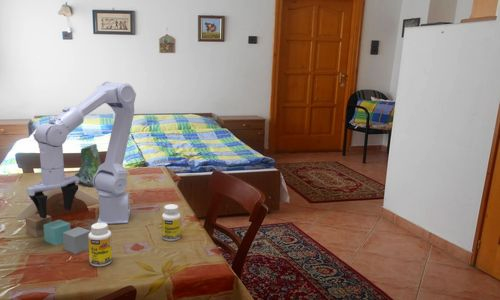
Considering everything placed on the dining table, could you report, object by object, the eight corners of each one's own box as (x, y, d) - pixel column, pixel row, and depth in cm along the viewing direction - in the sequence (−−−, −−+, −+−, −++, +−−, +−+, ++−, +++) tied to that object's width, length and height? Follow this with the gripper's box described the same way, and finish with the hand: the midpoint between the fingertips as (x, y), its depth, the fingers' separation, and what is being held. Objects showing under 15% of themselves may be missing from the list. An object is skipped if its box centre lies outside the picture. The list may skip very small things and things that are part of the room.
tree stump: (118, 190, 168) (105, 147, 163) (71, 199, 169) (56, 157, 165) (132, 174, 186) (120, 135, 181) (89, 183, 187) (76, 145, 182)
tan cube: (42, 228, 129) (41, 212, 128) (52, 232, 127) (51, 216, 126) (26, 233, 125) (25, 217, 124) (36, 238, 123) (35, 221, 121)
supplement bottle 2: (162, 242, 122) (162, 210, 120) (161, 234, 127) (160, 203, 125) (181, 240, 124) (181, 209, 121) (179, 233, 129) (179, 202, 127)
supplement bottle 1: (88, 268, 106) (86, 230, 104) (91, 258, 112) (89, 221, 109) (111, 266, 108) (109, 229, 105) (113, 256, 113) (111, 220, 111)
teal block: (60, 235, 125) (59, 219, 124) (71, 239, 122) (70, 223, 121) (44, 241, 121) (43, 224, 119) (55, 245, 118) (54, 229, 117)
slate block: (79, 243, 120) (78, 226, 119) (91, 247, 118) (90, 231, 117) (64, 249, 116) (62, 232, 115) (75, 254, 114) (74, 237, 112)
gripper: (66, 159, 125) (69, 203, 128) (18, 169, 113) (22, 217, 116) (82, 163, 121) (84, 208, 124) (33, 174, 109) (37, 223, 112)
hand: (55, 213), depth 119 cm, fingers open, 7 cm apart
